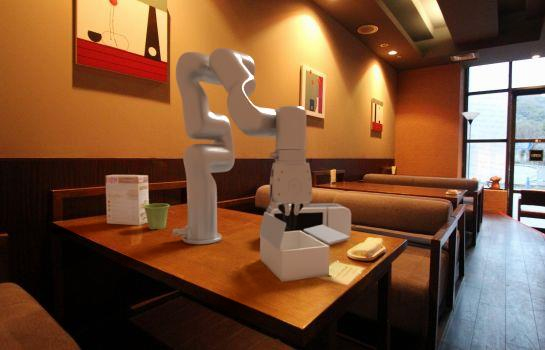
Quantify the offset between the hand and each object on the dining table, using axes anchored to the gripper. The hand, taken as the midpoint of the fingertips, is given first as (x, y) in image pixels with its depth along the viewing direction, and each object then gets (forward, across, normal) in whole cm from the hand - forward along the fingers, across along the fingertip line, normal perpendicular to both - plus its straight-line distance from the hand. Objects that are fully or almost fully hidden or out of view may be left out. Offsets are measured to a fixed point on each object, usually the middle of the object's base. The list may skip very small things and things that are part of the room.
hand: (289, 229), depth 80 cm
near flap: (-1, -5, 0) cm, 5 cm away
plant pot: (+10, -31, +55) cm, 64 cm away
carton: (+10, +1, 0) cm, 10 cm away
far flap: (+2, +10, 0) cm, 10 cm away
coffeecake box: (+10, -42, +68) cm, 81 cm away
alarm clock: (+10, +17, +24) cm, 31 cm away
